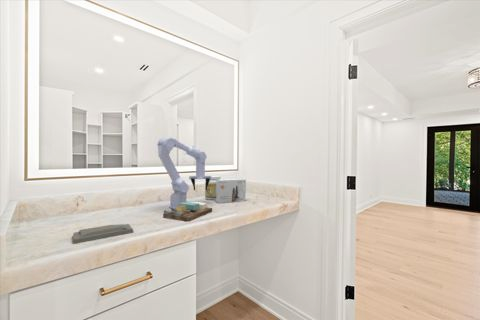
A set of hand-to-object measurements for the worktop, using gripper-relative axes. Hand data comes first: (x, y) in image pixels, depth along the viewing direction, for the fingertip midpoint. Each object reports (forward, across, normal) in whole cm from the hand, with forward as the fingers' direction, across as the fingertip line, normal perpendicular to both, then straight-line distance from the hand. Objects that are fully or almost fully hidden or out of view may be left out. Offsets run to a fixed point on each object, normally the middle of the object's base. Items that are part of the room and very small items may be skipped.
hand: (200, 189), depth 147 cm
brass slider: (+7, -13, -32) cm, 35 cm away
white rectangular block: (+7, -3, -19) cm, 21 cm away
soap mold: (+10, -43, -48) cm, 66 cm away
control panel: (+9, -9, -26) cm, 29 cm away
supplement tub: (+10, +11, +16) cm, 22 cm away
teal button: (+6, -9, -26) cm, 28 cm away
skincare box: (+10, +22, +2) cm, 24 cm away
